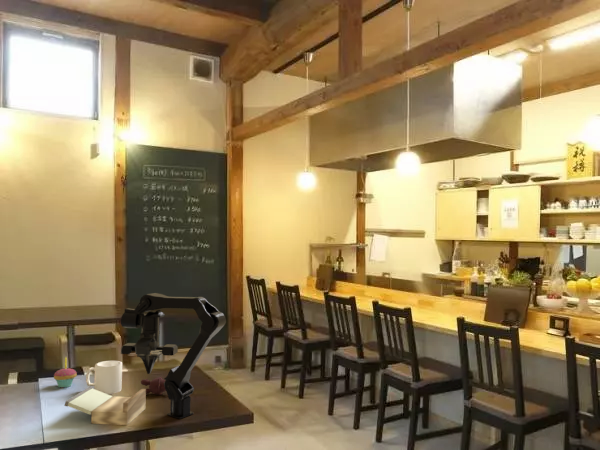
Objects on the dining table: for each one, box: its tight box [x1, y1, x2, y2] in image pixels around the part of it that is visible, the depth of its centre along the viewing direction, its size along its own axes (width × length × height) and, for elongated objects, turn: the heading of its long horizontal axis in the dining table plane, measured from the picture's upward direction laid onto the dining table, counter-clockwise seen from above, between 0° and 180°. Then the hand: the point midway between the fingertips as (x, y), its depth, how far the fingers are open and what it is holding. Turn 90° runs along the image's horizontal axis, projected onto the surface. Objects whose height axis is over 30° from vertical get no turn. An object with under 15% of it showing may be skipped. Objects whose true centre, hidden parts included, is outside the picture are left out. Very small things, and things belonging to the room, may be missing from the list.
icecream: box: [140, 376, 167, 396], centre depth 196 cm, size 7×7×15 cm
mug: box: [85, 360, 123, 395], centre depth 200 cm, size 14×10×11 cm
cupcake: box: [53, 356, 77, 388], centre depth 206 cm, size 9×8×12 cm
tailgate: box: [63, 386, 113, 416], centre depth 173 cm, size 2×16×9 cm
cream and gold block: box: [90, 388, 147, 426], centre depth 172 cm, size 12×16×7 cm
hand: (148, 373), depth 177 cm, fingers closed
